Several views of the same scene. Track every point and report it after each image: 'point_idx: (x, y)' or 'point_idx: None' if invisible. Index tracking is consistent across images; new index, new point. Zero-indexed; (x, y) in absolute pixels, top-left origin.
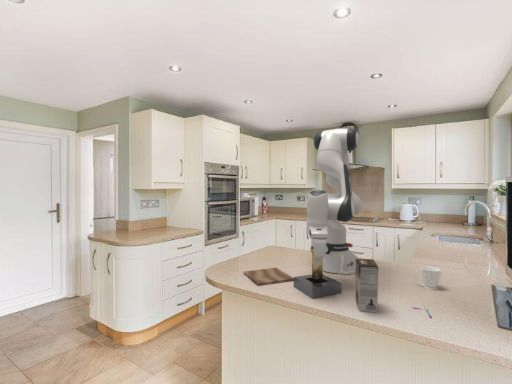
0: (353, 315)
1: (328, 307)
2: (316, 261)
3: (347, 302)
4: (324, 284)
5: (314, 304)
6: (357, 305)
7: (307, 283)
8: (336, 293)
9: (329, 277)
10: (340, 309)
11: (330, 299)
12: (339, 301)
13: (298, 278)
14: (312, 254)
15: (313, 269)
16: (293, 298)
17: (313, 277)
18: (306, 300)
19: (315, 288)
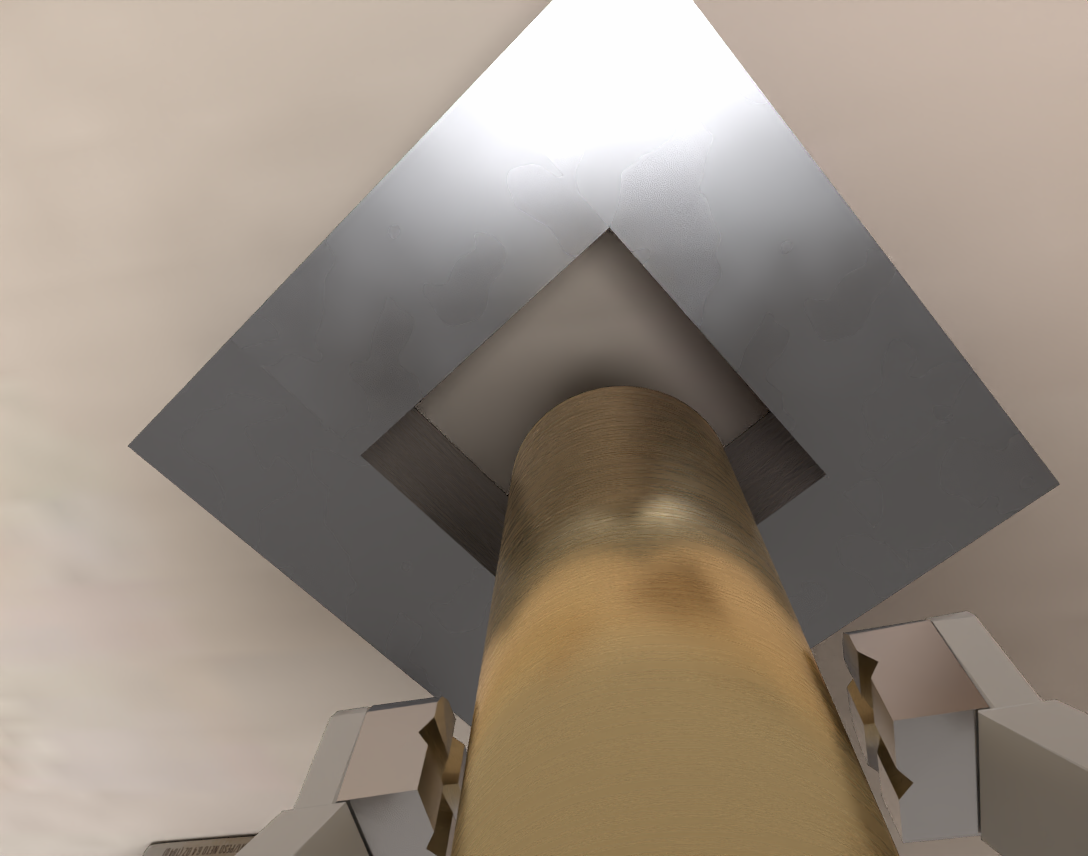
0: (12, 803)
1: (49, 593)
2: (298, 815)
3: (307, 756)
4: (408, 602)
5: (31, 436)
6: (233, 846)
7: (321, 328)
8: None
9: (814, 644)
10: (76, 702)
11: (301, 596)
12: (292, 686)
13: (560, 76)
14: (546, 843)
15: (520, 522)
16: (51, 101)
17: (530, 436)
18: (96, 315)
19: (187, 483)
